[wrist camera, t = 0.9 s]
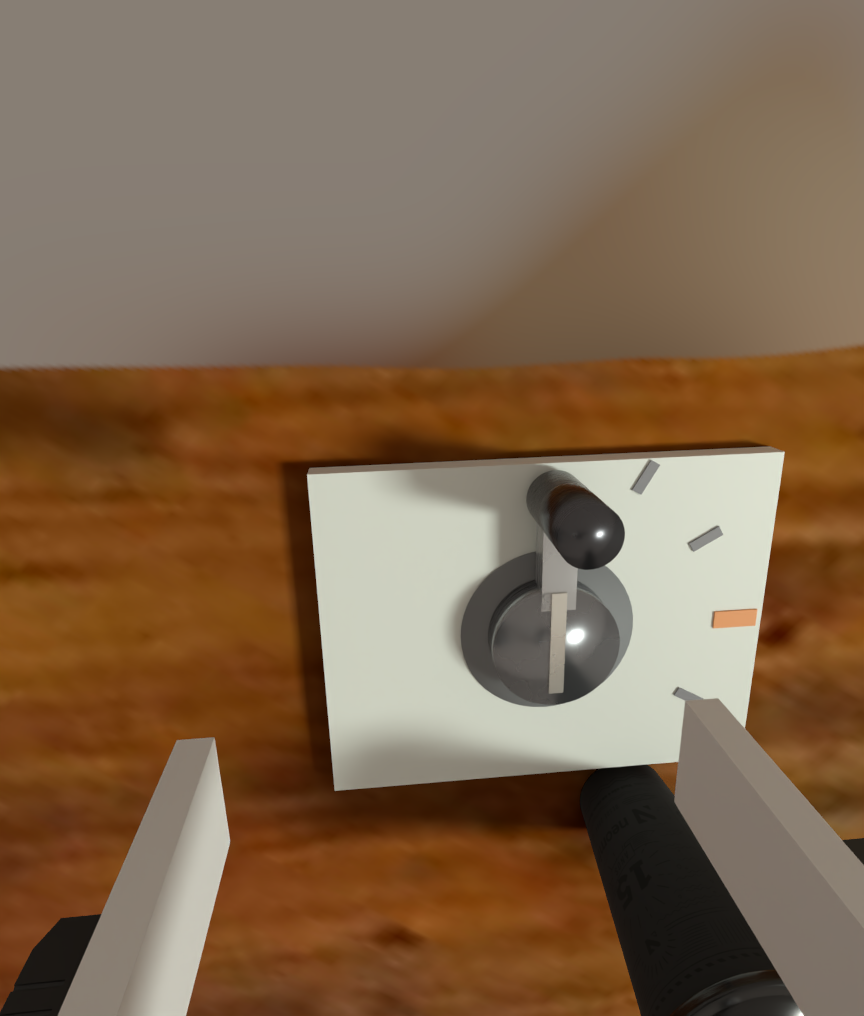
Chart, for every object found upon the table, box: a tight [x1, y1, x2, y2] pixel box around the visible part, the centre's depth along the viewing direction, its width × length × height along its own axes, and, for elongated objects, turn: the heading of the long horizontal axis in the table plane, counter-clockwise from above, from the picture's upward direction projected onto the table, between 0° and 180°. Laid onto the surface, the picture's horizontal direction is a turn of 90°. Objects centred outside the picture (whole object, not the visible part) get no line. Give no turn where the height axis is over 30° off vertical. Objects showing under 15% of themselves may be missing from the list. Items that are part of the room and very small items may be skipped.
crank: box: [488, 470, 625, 705], centre depth 29 cm, size 11×6×6 cm, turn 1°
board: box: [307, 446, 785, 791], centre depth 33 cm, size 22×17×1 cm
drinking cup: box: [580, 765, 804, 1016], centre depth 28 cm, size 8×8×20 cm
